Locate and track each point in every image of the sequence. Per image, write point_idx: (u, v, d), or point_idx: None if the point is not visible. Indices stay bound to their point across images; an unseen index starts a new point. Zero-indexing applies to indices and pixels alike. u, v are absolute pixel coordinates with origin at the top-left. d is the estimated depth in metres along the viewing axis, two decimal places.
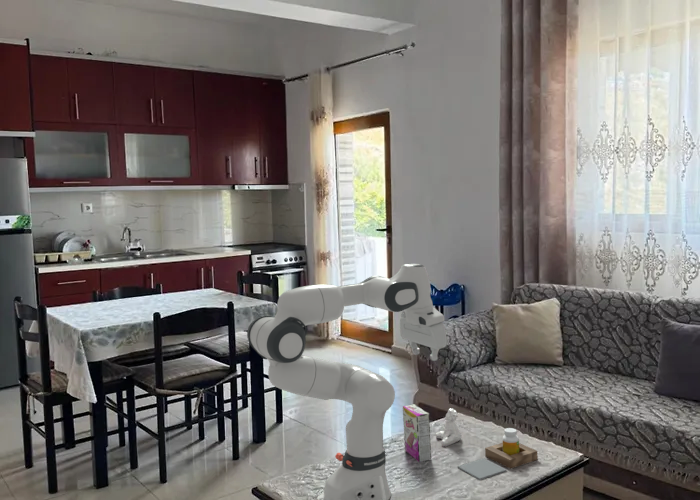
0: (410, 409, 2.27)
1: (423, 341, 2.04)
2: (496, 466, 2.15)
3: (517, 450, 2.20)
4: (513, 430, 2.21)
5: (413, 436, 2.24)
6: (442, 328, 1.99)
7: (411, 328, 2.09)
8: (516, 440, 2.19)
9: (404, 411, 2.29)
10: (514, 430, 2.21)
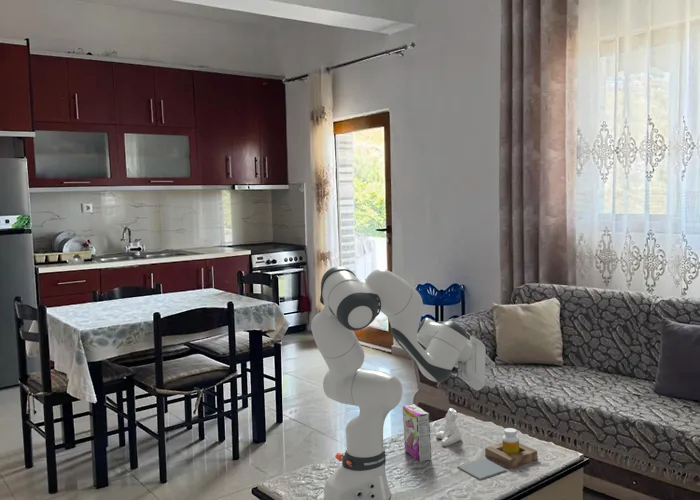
0: (410, 409, 2.27)
1: (482, 356, 2.13)
2: (496, 466, 2.15)
3: (517, 450, 2.20)
4: (513, 430, 2.21)
5: (413, 436, 2.24)
6: None
7: (474, 364, 2.08)
8: (516, 440, 2.19)
9: (404, 411, 2.29)
10: (514, 430, 2.21)
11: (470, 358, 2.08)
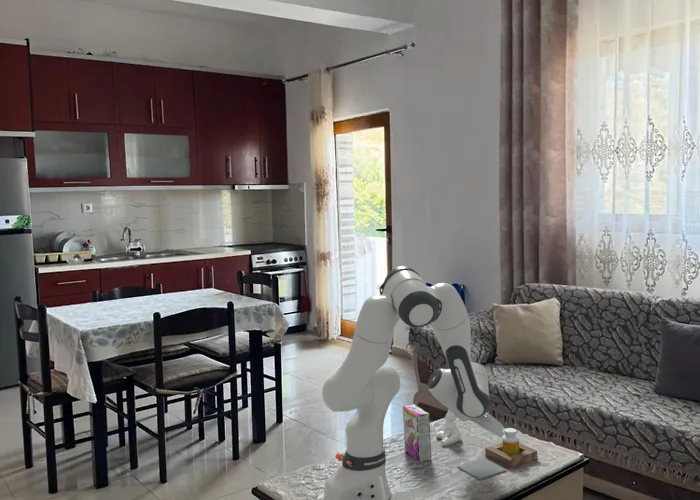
0: (410, 409, 2.27)
1: None
2: (496, 466, 2.15)
3: (517, 450, 2.20)
4: (513, 430, 2.21)
5: (413, 436, 2.24)
6: None
7: None
8: (516, 440, 2.19)
9: (404, 411, 2.29)
10: (514, 430, 2.21)
11: None
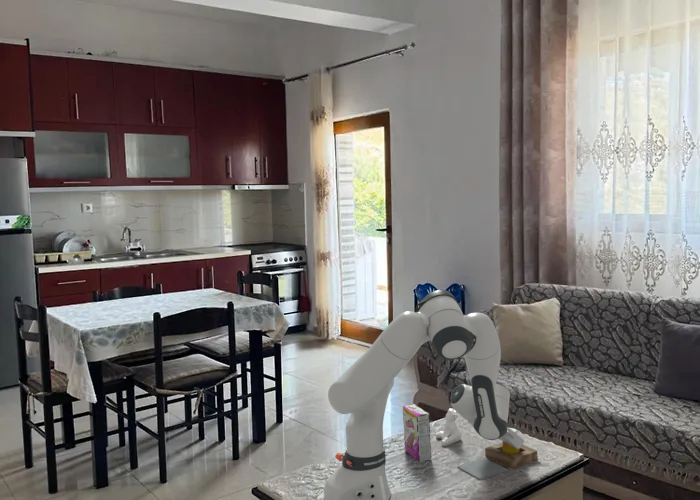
0: (410, 409, 2.27)
1: None
2: (496, 466, 2.15)
3: (517, 450, 2.20)
4: (513, 430, 2.21)
5: (413, 436, 2.24)
6: None
7: None
8: None
9: (404, 411, 2.29)
10: (514, 430, 2.21)
11: None
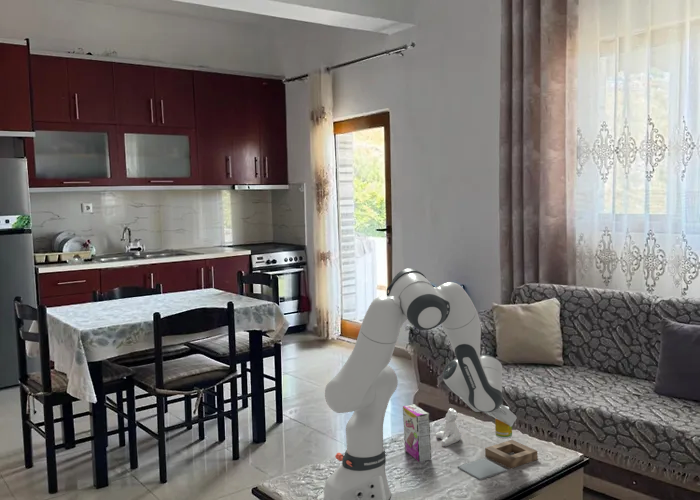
0: (410, 409, 2.27)
1: None
2: (496, 466, 2.15)
3: (510, 428, 2.18)
4: (506, 407, 2.19)
5: (413, 436, 2.24)
6: None
7: None
8: None
9: (404, 411, 2.29)
10: (507, 407, 2.19)
11: None
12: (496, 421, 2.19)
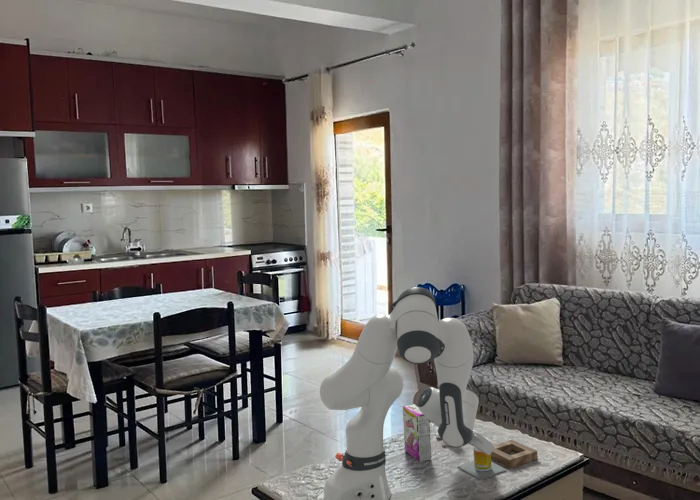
0: (410, 409, 2.27)
1: None
2: (496, 466, 2.15)
3: (489, 460, 2.12)
4: None
5: (413, 436, 2.24)
6: None
7: None
8: None
9: (404, 411, 2.29)
10: None
11: None
12: (475, 453, 2.13)
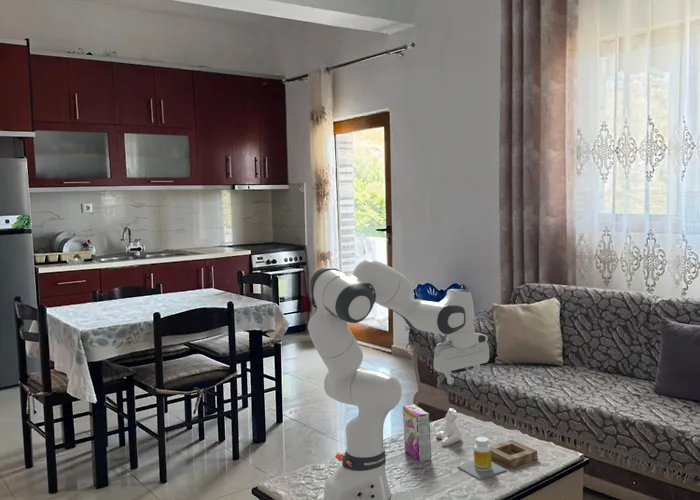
0: (410, 409, 2.27)
1: (472, 361, 2.13)
2: (496, 466, 2.15)
3: (489, 460, 2.12)
4: (485, 439, 2.13)
5: (413, 436, 2.24)
6: None
7: (456, 355, 2.10)
8: (488, 450, 2.11)
9: (404, 411, 2.29)
10: (486, 439, 2.13)
11: (459, 349, 2.09)
12: (475, 453, 2.13)
